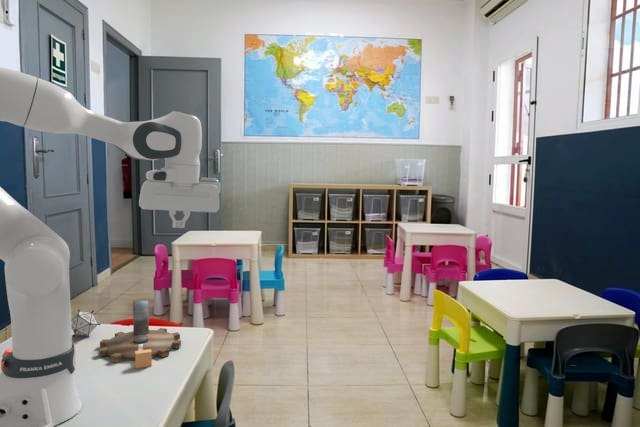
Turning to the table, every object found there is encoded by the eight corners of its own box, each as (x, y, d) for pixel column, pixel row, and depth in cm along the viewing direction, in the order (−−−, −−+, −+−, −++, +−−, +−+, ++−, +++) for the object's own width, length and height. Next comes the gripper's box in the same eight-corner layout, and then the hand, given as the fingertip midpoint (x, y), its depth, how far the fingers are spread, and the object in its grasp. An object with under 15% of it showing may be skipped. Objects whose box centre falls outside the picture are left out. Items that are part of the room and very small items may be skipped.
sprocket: (183, 357, 131) (183, 317, 130) (94, 367, 124) (93, 324, 122) (178, 329, 153) (177, 295, 152) (102, 336, 145) (101, 300, 144)
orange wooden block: (135, 368, 124) (135, 353, 124) (135, 365, 126) (135, 351, 126) (151, 366, 126) (151, 351, 125) (151, 363, 128) (150, 349, 127)
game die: (90, 345, 148) (111, 318, 150) (75, 345, 140) (96, 317, 142) (71, 328, 150) (91, 302, 152) (54, 328, 142) (76, 300, 144)
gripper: (218, 177, 129) (215, 226, 130) (140, 171, 120) (137, 224, 121) (224, 179, 123) (220, 230, 125) (142, 172, 114) (138, 228, 116)
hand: (178, 227), depth 123 cm, fingers closed
